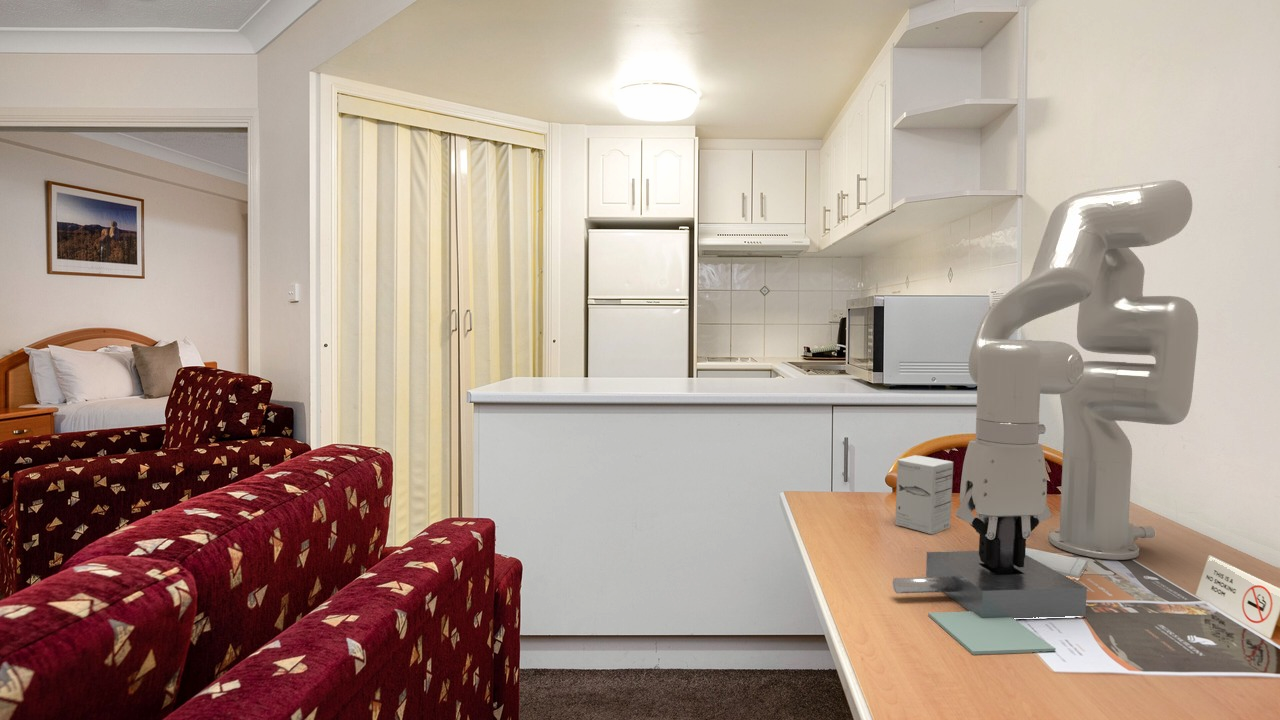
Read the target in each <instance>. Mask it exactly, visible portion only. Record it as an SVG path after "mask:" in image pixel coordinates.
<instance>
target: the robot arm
mask: <svg viewBox="0 0 1280 720" xmlns="http://www.w3.org/2000/svg"><path fill="white" fill-rule="evenodd" d="M1192 198H1193V197H1192V194H1191V192H1190V189H1189V188H1188V186H1187V185H1185V183H1183V182H1182V181H1180V180H1176V179H1168V180H1167V179H1165V180H1159V181H1151V182H1143V183H1138V184H1129V185H1121V186H1119V185H1118V186H1112V187H1106V188H1105V187H1104V188H1098V189H1092V190H1087V191H1084V192H1080V193H1077V194H1075V195H1072V196H1071V197H1069V198H1067V199H1066V200H1063V201H1062V202H1060V203H1059V204H1057V206H1055V208H1054V209H1053V211H1051V214H1050V216H1049V220H1048V222H1047V225H1046V228H1045V231H1044V234H1043V236H1042V240H1041V242H1040V245H1039V248H1038V251H1037V254H1036V257H1035V258H1034V262H1033V265H1032V269H1031V271H1030V273H1029V274H1030V275H1029V276H1028V277H1027V278H1026V279H1024V280H1023V281H1022V282H1020V283H1019V284H1017V285H1015V286H1014V287H1013V288H1012V289H1010V290H1009V291H1007V292H1006V293H1005V294H1004V295H1003V296H1002V297H1001V298H999V299H998V300H997V301H996V302H995V303H994V304H993V305H992V306H991V307H990V308H989V309H988V310H987V311H986V313H985V314H984V315H983V317H982V319H981V321H980V323H979V326H978V328H977V331H976V334H975V336H974V339H973V341H972V342H973V343H972V345H971V348H970V352H969V355H968V356H969V357H968V373H969V376H970V378H971V380H972V381H973V382H974V383H975V385H977V387H976V388H977V391H976V415H975V416H976V418H975V439H972V440H969V441H968V445H967V447H966V451H965V456H964V460H963V464H962V472H961V480H960V490H959V503H960V504H959V507H958V508H957V510H956V511H955V516H956V517H957V518H959V519H960V520H962V521H964V522H966V523H968V524H969V525H970V526H971V527H972V528H973V529H974V530H975V532H976V533H977V534H978V535H979V536H978V537H979V541H978V543H979V544H978V551H979V556H980V560H981V561H982V562H983V563H985V564H986V565H988V566H990V567H991V568H997V567H998V561H999V541H998V540H997V539H995V534H996V527H997V519H998V517H1016V534H1015V560H1014V565H1015V566H1017V567H1024V558H1025V549H1026V548H1027V546H1026V545H1027V543H1026V542H1027V540H1028V539H1030V537H1031V535H1032V534H1031V533H1032V531H1034V530H1035V529H1036V528H1037V527H1038V525H1039V524H1041V523H1043V522H1044V521H1047V520H1049V519H1051V517H1052V512H1051V510H1050V508H1049V505H1048V504H1047V496H1048V495H1047V494H1048V493H1047V492H1048V485H1047V484H1048V482H1047V468H1046V467H1047V466H1046V460H1045V454H1044V451H1043V446H1042V443H1041V444H1040V442H1039V437H1040V435H1044V434H1045V433H1046V430H1047V429H1046V425H1044V424H1041V423H1040V405H1041V404H1040V403H1041V402H1040V401H1041V400H1040V399H1041V394H1042V395H1059V399H1060V405H1061V412H1062V421H1063V423H1062V424H1063V448H1062V449H1063V450H1062V466H1061V467H1062V468H1061V470H1062V472H1061V490H1060V491H1061V492H1060V510H1059V511H1060V514H1059V515H1060V516H1059V529H1055V530H1053V531H1051V532H1049V533H1048V541H1049V542H1050V544H1052V545H1053V546H1054V547H1056V548H1058V549H1061V550H1062V551H1065V552H1069V553H1073V554H1076V555H1080V556H1084V557H1090V558H1094V559H1102V560H1103V559H1104V560H1110V561H1111V560H1112V561H1121V560H1122V561H1124V560H1125V561H1126V560H1131V559H1135V558H1138V557H1139V556H1140V548H1139V546H1138V545H1137V544H1136V543H1135V542H1134V541H1137V540H1138V539H1139V538H1140V539H1153V538H1155V537H1156V531H1155V530H1156V529H1154V527H1152V526H1150V525H1149V526H1145V525H1144V526H1135V524H1133V523H1130V506H1131V505H1130V503H1131V483H1132V482H1131V481H1132V462H1133V448H1132V447H1133V446H1132V444H1131V441H1130V439H1129V437H1128V436H1127V435H1126V433H1125V432H1124V431H1123V429H1122V428H1121V427H1120V425H1119V424H1118V423H1117V422H1122V421H1123V422H1131V423H1138V424H1139V423H1142V424H1150V425H1153V424H1154V425H1162V426H1163V425H1164V426H1171V425H1177V424H1179V423H1181V422H1183V421H1184V420H1185V419H1186V417H1187V416H1188V414H1189V412H1190V409H1191V403H1192V400H1193V399H1192V398H1193V390H1194V389H1193V388H1194V382H1195V381H1194V379H1195V369H1196V360H1197V349H1198V343H1199V342H1198V340H1199V320H1198V319H1199V318H1198V314H1197V309H1196V308H1195V306H1194V305H1193V304H1192V302H1191V301H1190V300H1188V299H1186V298H1185V297H1180V296H1173V295H1154V296H1153V295H1150V296H1149V295H1147V296H1144V294H1143V293H1144V282H1145V281H1144V280H1145V273H1146V272H1145V265H1144V264H1143V262H1142V261H1141V260H1140V258H1139V257H1138V256H1137V255H1136V253H1135V252H1133V250H1132V249H1131V248H1141V247H1144V248H1145V247H1151V246H1155V245H1157V244H1162V243H1163V242H1164V241H1167V240H1169V239H1170V238H1173V237H1175V236H1176V235H1178V234H1179V233H1181V232H1182V231H1183V230H1184V229H1185V227H1186V226H1187V224H1188V223H1189V221H1190V218H1191V215H1192V212H1193V199H1192ZM1077 304H1078V305H1079V306H1078V314H1077V321H1076V322H1077V323H1076V338H1077V339H1076V340H1077V342H1078V345H1079V346H1080V347H1081V348H1082V349H1083V350H1086V351H1088V352H1091V353H1097V354H1109V355H1127V356H1128V355H1129V356H1130V355H1132V356H1150V357H1153V358H1154V360H1155V363H1144V362H1143V363H1142V362H1141V363H1140V362H1127V361H1126V362H1125V361H1109V360H1108V361H1107V360H1105V361H1104V360H1086V361H1084V360H1083V357H1082V355H1081V353H1080V352H1079V351H1078V349H1076V347H1074V346H1073V345H1071V344H1069V343H1066V342H1063V341H1055V340H1032V339H1010V337H1012V335H1013V334H1014V333H1016V331H1018V329H1020V328H1022V327H1023V326H1024V325H1027V324H1028V323H1030V322H1032V321H1034V320H1037V319H1039V318H1042V317H1044V316H1047V315H1050V314H1052V313H1057V312H1059V311H1061V310H1065V309H1066V308H1069V307H1071V306H1075V305H1077ZM973 510H975V513H976V516H974V515H973Z"/></svg>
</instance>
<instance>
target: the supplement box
mask: <svg viewBox="0 0 1280 720" xmlns="http://www.w3.org/2000/svg"><path fill="white" fill-rule="evenodd" d="M896 467H897V468H896V469H897V470H896V471H897V472H896V492H895V493H896V495H895V496H896V499H895V523H894V525H895V526H900V527H904V528H908V529H911V530H915V531H919V532H921V533H922V532H923V533H926V534H928V535H934V534H935V535H936V534H937V533H939V532H942V531H945V530H947V529H949V528H951V518H952V516H951V515H952V500H953V499H952V495H953V494H952V493H953V477H954V475H953V474H954V461H951V460H947V459H945V460H944V459H939V458H935V457H929V456H923V455H919V454H918V455H917V454H916V455H915V454H913V455H911V456H907V457H903V458H902V457H901V458H899V459H897V466H896Z"/></svg>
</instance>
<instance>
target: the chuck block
mask: <svg viewBox="0 0 1280 720" xmlns="http://www.w3.org/2000/svg"><path fill="white" fill-rule="evenodd" d="M925 570H926V571H925V572H926V574H925V576H922V577H920V576H919V577H894V578H893V580H892V588H893V590H894V592H895V593H896V594H920V593H921V594H924V593H928V594H929V593H944V594H945V595H947V596H948V597H950V598H951V599H952V600H953V601H954V602H956V603H957V604H958V605H960V606H961V605H962V606H963V607H962V606H961V607H962V608H963V609H965V608H966V609H967V610H966V609H965V610H966V611H967V612H969V611H973V612H974V613H975V614H977V615H978V616H979V617H981V618H1008V617H1012V618H1013V619H1014V618H1033V617H1034V618H1036V617H1038V618H1039V617H1065V616H1085V617H1086V614H1087V613H1086V611H1087V593H1088V592H1087V590H1088V589H1087V587H1086V586H1085V585H1082V584H1081V583H1079V582H1078V581H1076V580H1072V579H1070V578H1068V577H1066V576H1064V575H1062V574H1060V573H1058V572H1057V571H1055V570H1053V569H1051V568H1049V567H1047V566H1046V565H1044V564H1042V563H1040V562H1038V561H1036V560H1034V559H1033V558H1031V557H1029V556H1027V555H1025V558H1024V567H1017V566H1015V565H1014V574H1013V575H995V574H994V573H992V572H991V571H989V566H988V565H986V564H985V563H983V562H982V561H981V560H980V556H979V550H961V551H959V550H957V551H927V552H926V569H925Z"/></svg>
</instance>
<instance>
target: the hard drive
mask: <svg viewBox="0 0 1280 720" xmlns="http://www.w3.org/2000/svg"><path fill="white" fill-rule="evenodd" d="M1025 555H1027V556H1029V557H1031V558H1033V559H1034V560H1036V561H1038V562H1040V563H1042V564H1044V565H1046V566H1047V567H1049V568H1051V569H1053V570H1055V571H1057V572H1058V573H1060V574H1062V575H1064V576H1070V577H1075V578H1079V577H1080V576H1081V574H1082V572H1083V570H1084V569H1085V568H1086V569H1087V567H1088V560H1086V559H1082V558H1077V557H1072V556H1067V555H1063V554H1059V553H1053V552H1049V551H1045V550H1040V549H1034V548H1029V547H1026V549H1025ZM1086 566H1087V567H1086ZM1086 569H1085V570H1086ZM1082 575H1083V574H1082ZM1081 577H1082V576H1081Z"/></svg>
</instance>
